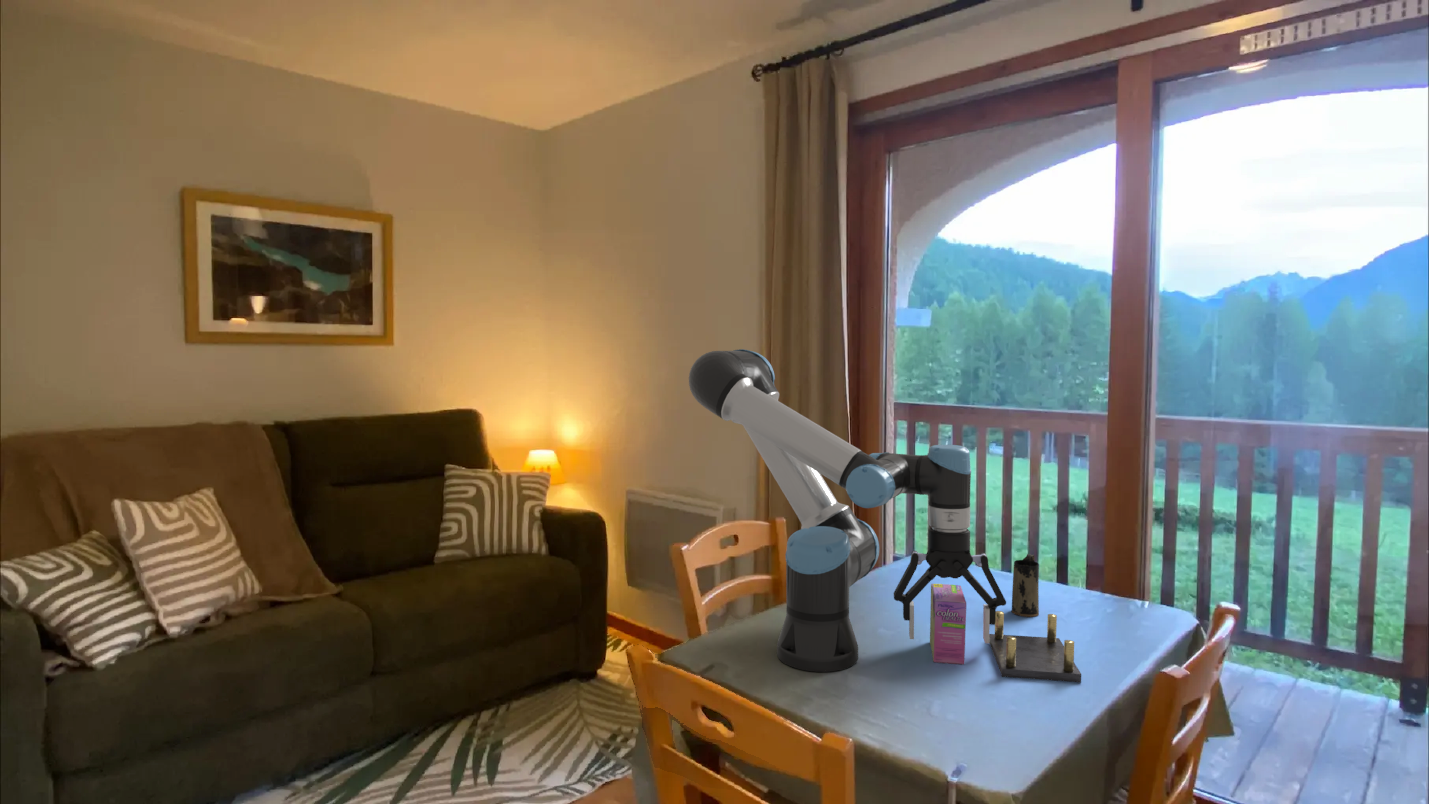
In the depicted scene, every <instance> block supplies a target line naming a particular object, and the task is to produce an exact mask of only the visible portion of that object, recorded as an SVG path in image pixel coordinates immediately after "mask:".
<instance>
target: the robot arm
mask: <svg viewBox="0 0 1429 804" xmlns="http://www.w3.org/2000/svg"><path fill="white" fill-rule="evenodd" d="M775 380H776V377H775V372H774V369H773V366H772V365H771V363H770V361H769V360H768V359H767V358H766V357H765V356H763V355H762V354H760V353H759V352H757V351H753V350H750V349H749V350H748V349H742V348H740V349H733V350H711V351H708V352H705V353H704V354H702V355H700V356H699V357H698V358H697V359H696V360H695V361H694V362H693V364H692V366H691V368H690V371H689V375H688V385H689V386H688V387H689V390H690V392H691V394H692V396H693V398H694V399H695V400H696V402H697V403H699V404H700V405H701V406H702V407H704V408H705V409H706V410H708V411H709V412H710V413H713V414H714V415H715V416H717V417H718V418H721V419H722V420H723V421H725V422H727V421H731V422H732V423H733V424H734V423H735V424H738V425H742V426H743V428H744V430H745V432H746V433H747V435H748V436H749V438H750V440H751V441H752V443H753V445H754V446H755V448H756V450H757V452H758V454H760V457H761V458H762V461H764V463H765V465H766V466H767V468H768V470H769V471H770V473H771V475H772V477H773V478H774V480H775V481H776V483H777V485H778V486H779V488H780V490H781V492H782V493H783V494H784V496H785V498H786V500H787V501H788V503H789V504H790V507H791V508H792V510H793V511H794V513H795V514H796V517H797V518H798V520H799V522H800V524H801V526H800V527H801V528H800V529H798V530H796V531H795V532H793V533H792V534H790V536H789V537H788V539H787V542H786V550H785V555H784V556H785V562H786V563H785V564H786V565H785V569H786V570H785V571H786V572H785V573H786V574H785V576H786V577H785V578H786V584H785V586H786V587H785V588H786V590H785V591H786V614H785V618H784V620H783V623H782V626H781V630H780V633H779V636H778V639H777V643H776V656H777V659H778V660H780V662H781V663H783V664H785V665H786V666H788V667H792V668H794V669H797V670H801V671H807V672H817V673H819V672H820V673H822V672H823V673H824V672H837V671H842V670H845V669H848V668H851V667H852V666H854V665H855V664H856V663H857V662H858V661H859V645H858V642H857V638H856V635H855V631H854V628H853V625H852V623H851V619H850V588H851V586H852V585H854V584H855V583H857V582H858V581H859V580H861V579H862V578H865V577H866V576H867V575H869V573H870V572H871V571H872V569H873V568H874V567H875V565H876V564H877V562H878V560H879V555H880V542H879V538H878V536H877V534H876V532H875V530H874V529H873V528H872V527H871V525H870V524H868V523H867V522H866V521H863V520H861V519H859V518H857V516H856V515H855V514H854V512H853V510H852V508H850V506H849V505H847V504H844V503H841V502H838V500H837V499H836V497H835V495H834V494H833V492H832V490H831V489H830V487H829V485H828V484H827V482H826V481H825V479H824V477H825V478H827V480H830V481H832V482H833V483H834V484H837V485H838V486H840V487H841V488H843V489H844V490H845V491H846V493H847V494H846V495H848V497H849V499H850V500H851V501H852V503H853V504H855V505H856V506H858V507H860V508H863V509H873V508H877V507H881V506H883V505H885V504H887V503H888V502H890V500H892V499H893V498H896V497H899V495H901V494H905V495H906V494H907V495H908V494H909V495H920V496H925V495H926V496H928V497H927V498H928V506H927V507H928V511H927V512H928V513H927V515H928V519H927V520H928V521H927V523H928V526H929V528H928V530H927V531H928V534H927V535H928V536H927V537H928V538H927V539H928V542H927V543H928V544H927V546H928V547H927V552H926V553H921V552H918V551H917V550H913V551H911V552H910V553H911V554H910V562H909V563H908V565H907V567H906V569H905V571H904V573H903V575H902V576H901V578H900V580H899V581H898V584H897V585H896V588H895V590H894V592H893V599H894V600H895V601H897V602H900V603H902V605H903V606H902V616H903V620H904V621H908V627H909V628H908V630H909V631H908V632H909V633H908V634H909V635H908V636H909V639H910V640H914V639H915V605H914V603H915V602H914V600H915V598H916V597H917V596H918V595H919V594H920V593H921V592H922V591H923V589H925V587H926V586H927V585H929V583H931V581H932V580H934V579H935V578H936V577H940V578H941V579H947V578H952V579H959V578H961V577H963V578H964V579H965V580H966V582H968V583H969V585H970V586H971V587H972V588H973V589H974V591H975V592H976V593H977V594H978V595H979V596H980V598H981V599H982V600H983V601H984V602H985V603H986V604H984V603H983V605H982V606H983V610H982V611H983V614H982V615H983V616H982V617H983V618H982V619H983V620H982V626H983V628H982V629H983V630H982V631H983V632H982V634H983V635H982V637H983V641H984V644H989V634H990V626H991V625H992V626H995V622H996V611H997V608H998V607H1000V606H1002V607H1004V606H1006V604H1007V600H1006V599H1005V597H1004V594H1003V593H1002V591H1001V589H1000V587H999V584H998V583H997V581H996V580H995V578H994V577H995V576H994V574H993V573H992V572H991V570H990V567H989V565H990V564H989V559H988V557H987V554H986V553H985V552H981V553H980V554H973V555H972V554H971V531H970V529H968V528H970V527H971V482H972V481H971V478H972V477H971V475H972V469H971V454H970V451H969V449H968V448H967V447H966V446H963V445H957V444H934V445H931V446H930V447H929V448H928V452H927V454H921V455H919V454H908V453H907V454H906V453H905V454H903V453H892V452H891V453H890V452H872V453H870V454H867V453H865V452H864V451H863V450H861V449H860V448H859V447H856V446H854V444H851V443H849V442H848V441H846V440H844V439H843V438H841V437H839V436H838V435H836V434H834V433H833V432H831V431H829V430H827V429H826V428H825V427H823V426H821V425H820V424H818V423H816V422H814V421H813V420H811V419H809V418H808V417H806V416H804V415H803V414H801V413H799V412H797V411H796V410H794V409H792V408H791V407H790V406H787V405H786V404H785V403H783V402H781V401H779V399H780V392H779V390H778V389H777V387H776V386H775ZM823 476H824V477H823ZM924 561H926V563H927V564H928V565H929V566H928V568H927V569H926V570H925V572H924V573H923V574H922V576H920V577H919V578H918V579H917V580H916V581H915V583H913V585H912V586H911V587H910V588H909V589H908V591H906V589H907V587H908V586H909V583H910V582H911V580H912V578H913V576H914V574H915V573H916V571H917V568H918V566H919V565H921V564H922V563H923V562H924ZM973 563H975V564H976V567H977V566H978V568H981V570H982V571H983V573H984V575H985V577H986V579H987V581H988V583H989V585H990V588H991V589H992V592H993V593H994V595H995V597H992V595H990V593H988V592H987V590H986V589H985V588H984V586H983V585H981V583H980V582H979V581H978V580H977V578H976V577H975V576H974V575H973V574H972V573H971V571H970V570H969V568H970V566H971V565H972V564H973ZM905 591H906V593H905V594H904V592H905Z"/></svg>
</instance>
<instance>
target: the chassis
mask: <svg viewBox="0 0 1429 804" xmlns="http://www.w3.org/2000/svg"><path fill="white" fill-rule="evenodd" d="M1057 620H1058V616H1057V614H1054V613H1048V614H1047V623H1046V624H1047V625H1046V626H1047V628H1046V630H1047V631H1046V636H1045V637H1044V636H1032V635H1031V636H1029V635H1028V636H1027V635H1015V634H1014V635H1012V634H1004V629H1005V628H1004V626H1005V625H1004V623H1005V612H1003V611H1001V610H996V622H995V625H994V633H989V643H988V644H989V647H990V649H991V651H992V654H993V657H994V660H995V662H996V665H997V667H998V670H999V672H1000V676H1001V677H1002V678H1011V679H1013V678H1014V679H1026V680H1039V681H1040V680H1041V681H1051V682H1052V681H1054V682H1055V681H1056V682H1067V683H1078V684H1079V683H1082V673H1081V671H1080V669H1079V668H1078V667H1077V665H1076V663H1075V641H1073V640H1071V639H1065V640H1064V641H1063V642H1064V643H1063V642H1062V640H1061V639H1060V638H1059V637H1057V625H1058V623H1057Z"/></svg>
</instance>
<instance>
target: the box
mask: <svg viewBox="0 0 1429 804" xmlns="http://www.w3.org/2000/svg"><path fill="white" fill-rule="evenodd" d="M929 618H930V622H929V623H930V625H929V644H930V649H931V656H932V662H933V663H938V664H949V665H950V664H951V665H965V659H966V658H965V652H966V630H967V629H966V625H967V599H966V598H965V595H964V592H963V588H962V586H961V585H958V584H949V583H948V584H945V583H944V584H943V583H931V584H930V617H929Z"/></svg>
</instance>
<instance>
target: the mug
mask: <svg viewBox="0 0 1429 804" xmlns="http://www.w3.org/2000/svg"><path fill="white" fill-rule="evenodd" d="M1035 558H1036V557H1035V555H1034V554H1029V553H1028V554H1026V556H1025V557H1024V558H1023V559H1017V560H1014V561H1013V572H1012V573H1013V574H1012V575H1013V576H1012V590H1011V591H1012V594H1011V613H1012V614H1014V615H1015V616H1018V617H1022V618H1035V617H1038V616H1039V615H1040V609H1039V603H1040V602H1039V601H1040V600H1039V599H1040V598H1039V597H1040V596H1039V595H1040V594H1039V586H1040V585H1039V580H1040V579H1039V576H1040V575H1039V572H1040V571H1039V570H1040V564H1039V562H1037V561H1035Z"/></svg>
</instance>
